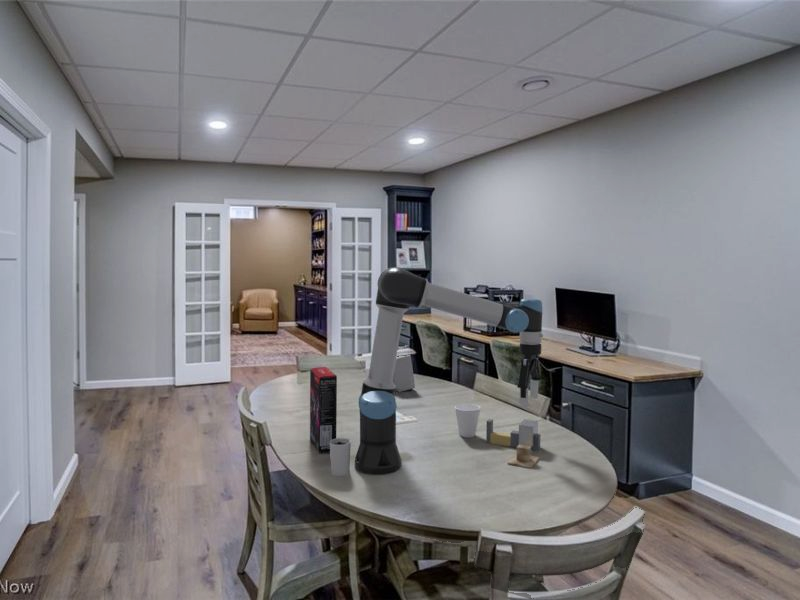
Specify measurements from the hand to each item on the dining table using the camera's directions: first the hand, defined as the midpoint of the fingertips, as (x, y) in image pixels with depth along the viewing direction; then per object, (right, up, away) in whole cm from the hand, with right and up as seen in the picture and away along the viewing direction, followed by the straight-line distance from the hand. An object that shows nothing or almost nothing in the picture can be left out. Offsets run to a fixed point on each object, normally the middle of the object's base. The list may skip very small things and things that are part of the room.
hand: (529, 402), depth 197 cm
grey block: (0, -14, +1) cm, 14 cm away
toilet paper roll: (-65, -18, -22) cm, 71 cm away
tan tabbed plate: (-5, -17, -12) cm, 22 cm away
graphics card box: (-73, -16, +3) cm, 75 cm away
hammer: (-5, -16, +4) cm, 17 cm away
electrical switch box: (-48, -10, +89) cm, 102 cm away
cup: (-20, -16, +15) cm, 29 cm away
